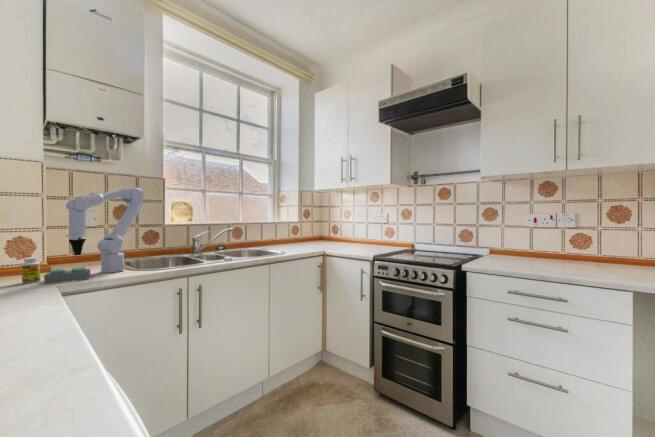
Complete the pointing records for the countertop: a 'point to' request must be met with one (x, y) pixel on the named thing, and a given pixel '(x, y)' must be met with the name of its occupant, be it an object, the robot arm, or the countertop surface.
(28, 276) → the supplement bottle
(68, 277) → the panel box
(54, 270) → the knob
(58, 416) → the countertop surface
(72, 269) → the knob
